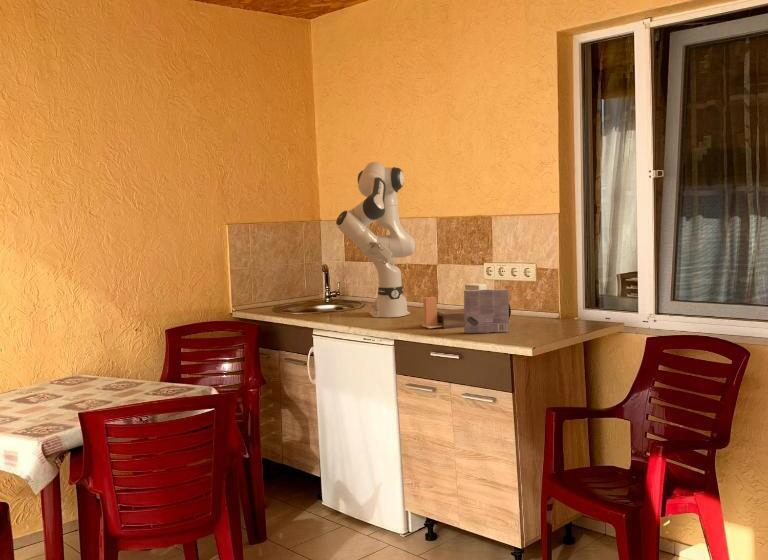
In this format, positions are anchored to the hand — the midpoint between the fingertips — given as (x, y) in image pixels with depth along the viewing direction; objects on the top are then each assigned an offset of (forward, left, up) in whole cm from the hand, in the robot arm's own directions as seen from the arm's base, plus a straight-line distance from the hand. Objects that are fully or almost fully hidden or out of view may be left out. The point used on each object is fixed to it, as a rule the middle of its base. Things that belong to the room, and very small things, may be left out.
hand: (390, 263), depth 350 cm
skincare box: (-10, +45, -29) cm, 54 cm away
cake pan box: (+30, +30, -29) cm, 51 cm away
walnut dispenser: (+5, +28, -28) cm, 40 cm away
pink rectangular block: (+5, +24, -28) cm, 37 cm away
